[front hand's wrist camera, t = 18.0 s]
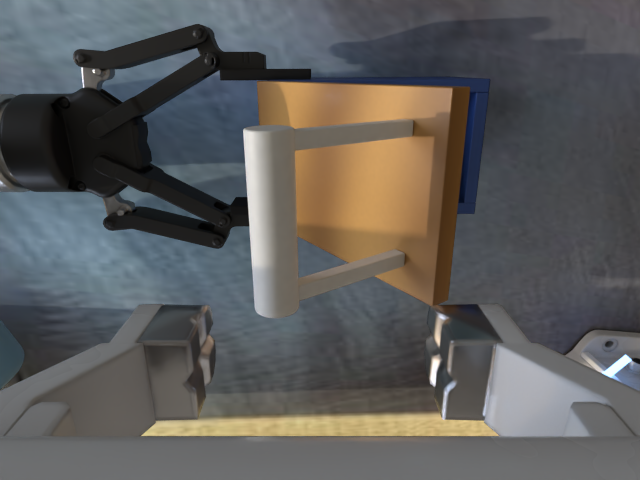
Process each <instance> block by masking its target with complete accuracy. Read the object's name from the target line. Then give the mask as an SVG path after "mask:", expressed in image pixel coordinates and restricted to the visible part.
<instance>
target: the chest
mask: <svg viewBox="0 0 640 480" xmlns="http://www.w3.org/2000/svg"><path fill="white" fill-rule="evenodd" d="M267 81H298V82H331V83H365V84H398V85H431V86H465V87H470V96H469V105H468V115H467V124H466V134H465V143H464V153H463V162H462V171H461V181H460V190H459V200H458V209H457V214H474V212H475V204H476V203H475V202H476V195H477V187H478V179H479V170H480V162H481V154H482V145H483V137H484V129H485V120H486V112H487V104H488V95H489V93H488V92H489V86H490V79H481V78H463V77H351V78H311V79H310V80H267Z"/></svg>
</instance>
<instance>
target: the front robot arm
mask: <svg viewBox="0 0 640 480" xmlns="http://www.w3.org/2000/svg"><path fill="white" fill-rule="evenodd" d="M212 325H213V319H212V311H211V308H210V306H209V305H171V304H165V305H164V304H143V305H139V306H138V307H137V308H136V309H135V310H134V312H133V313H132V314H131V316H130V317H129V318H128V319H127V321H126V322H125V323H124V325H123V326H122V327H121V328H120V330H119V331H118V332H117V333H116V335H115V336H114V337H113V339H112V340H111V341H110V342H109V343H101V344H99V345H97V346H94V347H92V348H90V349H88V350H86V351H84V352H82V353H80V354H77V355H75V356H73V357H71V358H69V359H67V360H65V361H63V362H60V363H58V364H56V365H54V366H52V367H50V368H48V369H46V370H44V371H41V372H39V373H37V374H35V375H33V376H31V377H29V378H27V379H24V380H22V381H20V382H18V383H16V384H14V385H12V386H10V387H7V388H5V389H3V390H1V391H0V480H640V333H635V332H622V331H609V330H593V331H591V332H589V333H588V334H586V335H585V336H584V337H583V338H582V339H581V340H580V342H579V343H578V344H577V345H576V346H575V348H574V349H573V350H572V351H571V352H569V353H568V354H566V355H562V354H560V353H558V352H556V351H554V350H552V349H550V348H548V347H546V346H543V345H541V344H539V343H531V342H530V341H529V340H528V339H527V337H526V336H525V335H524V334H523V332H522V331H521V330H520V328H519V327H518V326H517V325H516V323H515V322H514V321H513V320H512V318H511V317H510V316H509V314H508V313H507V312H506V311H505V309H504V308H503V307H502V306H501V305H499V304H481V305H477V304H467V305H433V306H430V308H429V311H428V318H427V325H428V327H429V330H430V332H431V335H430V336H429V337H428V338H427V339H426V340H425V351H424V357H425V369H426V374H427V377H428V380H429V383H430V384H432V385H433V386H435V394H434V398H435V400H436V403H437V406H438V409H439V411H440V414H441V417H442V419H447V420H484V423H485V424H487V425H488V426H489V427H490V428H491V429H492V430H493V431H495V432H496V433H497V434H498V435H499V436H141V435H142V434H143V433H144V432H146V431H147V430H148V429H149V428H150V427H151V426H152V425H154V424H155V423H156V420H191V419H198V417H199V414H200V412H201V409H202V406H203V403H204V400H205V398H206V394H205V386H207V385H208V384H210V383H211V380H212V377H213V374H214V368H215V360H216V349H215V340H214V339H213V338H212V337H211V336H210V335H209V332H210V330H211V327H212ZM608 341H609V342H608ZM606 342H608V343H606Z"/></svg>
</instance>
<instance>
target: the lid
mask: <svg viewBox="0 0 640 480" xmlns="http://www.w3.org/2000/svg"><path fill="white" fill-rule="evenodd" d="M257 91H258V110H259V126H250V127H246V128H244V130H243V136H244V151H245V166H246V181H247V196H248V212H249V227H250V242H251V257H252V272H253V287H254V302H255V310H256V312H257V313H258V314H259V315H261V316H264V317H268V318H283V317H287V316H290V315H292V314H294V313H295V312H296V311H297V310H298V308H299V301H301V300H304V299H307V298H310V297H313V296H316V295H319V294H322V293H325V292H328V291H331V290H334V289H337V288H340V287H343V286H346V285H349V284H352V283H355V282H358V281H361V280H364V279H367V278H370V277H373V276H375V277H377V278H379V279H380V280H382V281H384V282H386V283H388V284H390V285H392V286H394V287H396V288H398V289H400V290H401V291H403V292H405V293H407V294H409V295H411V296H413V297H415V298H417V299H419V300H421V301H423V302H424V303H426V304H428V305H430V306H433V305H438V304H440V303H443V302H445V301H447V300H448V294H449V285H450V276H451V266H452V257H453V247H454V238H455V228H456V219H457V209H458V200H459V190H460V181H461V171H462V162H463V153H464V143H465V134H466V124H467V115H468V105H469V96H470V87H465V86H431V85H398V84H365V83H331V82H298V81H257ZM297 236H298V237H300V238H302V239H304V240H306V241H308V242H310V243H311V244H313V245H315V246H317V247H319V248H321V249H323V250H325V251H327V252H329V253H331V254H333V255H334V256H336V257H338V258H340V259H342V260H344V261H346V262H348V263H347V264H344V265H341V266H337V267H334V268H331V269H327V270H324V271H321V272H318V273H314V274H311V275H308V276H304V277H301V278H298V243H297Z"/></svg>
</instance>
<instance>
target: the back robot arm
mask: <svg viewBox="0 0 640 480" xmlns="http://www.w3.org/2000/svg"><path fill="white" fill-rule="evenodd" d="M195 48H197V49H198V51H199V53H200V57H198V58H196V59H195V60H193V61H191V62H190V63H188V64H187V65H185V66H183V67H182V68H180V69H179V70H177V71H175V72H174V73H172V74H170V75H169V76H167V77H166V78H164V79H162V80H161V81H159V82H158V83H156V84H154V85H153V86H151V87H149V88H148V89H146V90H145V91H143V92H141V93H140V94H138V95H137V96H135V97H132V98H130V99H128V100H127V101H125V102H121V101H120V100H118V99H117V98H115V97H114V96H112V95H111V94H109V93H108V92H106V91H105V90H103V89H102V84H103V82H104V81H106V80H110V79H112V78H113V77H114V75H115V69H126V68H130V67H134V66H137V65H140V64H144V63H147V62H151V61H154V60H157V59H161V58H164V57H168V56H171V55H174V54H178V53H181V52H185V51H188V50H191V49H195ZM73 59H74V62H75V63H76V64H77V65H78V66H80V67H81V70H82V80H83V88H82V89H80V90H78V91H77V92H75V93H73V94H21V95H18V96H15V95H13V94H0V192H26V191H30V190H31V191H34V192H90V193H93V194H95V195H97V196H99V197H103V201H104V204H105V208H106V212H107V215H108V216H107V217H106V218H105V219H104V221H103V225H104V227H105V228H106V229H108V230H112V231H113V230H124V229H136V230H140V231H144V232H148V233H153V234H157V235H161V236H165V237H170V238H174V239H178V240H182V241H186V242H191V243H195V244H199V245H203V246H208V247H212V248H217V249H219V248H221V247H222V246H223V245H224V243H225V242H226V240H227V238H228V236H229V234H230V229H231V228H232V227H234V226H249V212H248V197H236V198H235V199H234V201H233V202H232V204H231V205H228V204H226V203H224V202H222V201H220V200H218V199H216V198H214V197H212V196H210V195H208V194H206V193H204V192H202V191H200V190H198V189H196V188H194V187H192V186H190V185H188V184H186V183H184V182H182V181H180V180H178V179H176V178H174V177H172V176H170V175H168V174H166V173H164V171H163V170H162V169H160V168H158V167H156V166H154V165H152V164H150V162H151V161H152V157H151V151H150V149H149V146H148V144H147V136H148V128H147V122H144V121H143V119H142V118H143V117H144V116H146V115H147V114H149V113H151V112H152V111H154V110H155V109H156V108H158V107H159V106H161V105H163V104H164V103H166V102H168V101H169V100H171V99H173V98H174V97H176V96H177V95H179V94H181V93H182V92H184V91H186V90H187V89H189V88H191V87H192V86H194V85H196V84H197V83H199V82H200V81H202V80H204V79H205V78H207V77H209V76H210V75H212V74H214V73H215V72H217V71H219V70H220V80H310V79H311V69H266V55H264V54H261V53H259V52H223V51H222V50H221V49H220V48H219V47H218V45H217V43H216V40H215V38H214V33H213V31H212V30H211V29H210V28H208V27H206V26H203V25H200V24H195V25H192V26H188V27H185V28H182V29H178V30H175V31H172V32H168V33H165V34H162V35H158V36H155V37H151V38H148V39H145V40H141V41H138V42H135V43H131V44H128V45H125V46H121V47H118V48H115V49H111V50H108V51H96V50H84V49H79V50H76V51H75V52H74V54H73ZM128 185H129V186H131V187H133V188H135V189H137V190H139V191H142V192H148V193H151V194H153V195H155V196H157V197H159V198H161V199H163V200H165V201H167V202H169V203H172V204H174V205H176V206H178V207H180V208H182V209H184V210H186V211H188V212H190V213H192V214H194V215H196V216H198V217H200V218H202V219H204V220H206V221H208V222H206V221H202V220H198V219H194V218H190V217H186V216H182V215H177V214H173V213H169V212H165V211H161V210H157V209H153V208H148V207H135V204H134V202H131V201H128V200H124V199H122V198H121V196H120V195H119V192H121V191H122V190H123V189H124V188H126V187H127V186H128ZM23 361H24V351H23V348H22V347H21V345H20V344H19V343H18V341H17V340H16V339H15V338H14V336H13V335H12V334H11V333H10V331H9V330H8V329H7V328H6V326H5V325H4V324H3V322H2V321H1V320H0V390H1V389H2V388H3V387H4V386H5V385H6V384H7V383H8V382H9V381H10V380H11V379H12V378H13V377H14V376H15V375H16V373H17V372H18V371H19V369H20V368H21V366H22V364H23Z"/></svg>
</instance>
